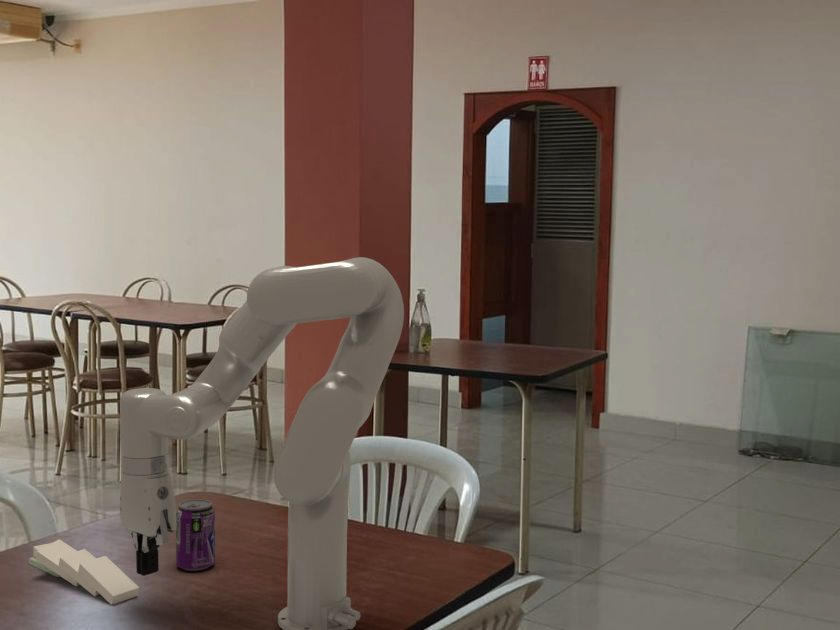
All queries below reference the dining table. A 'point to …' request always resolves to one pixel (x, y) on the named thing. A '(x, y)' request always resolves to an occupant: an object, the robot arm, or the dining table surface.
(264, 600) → the dining table surface
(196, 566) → the beverage can
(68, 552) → the tile
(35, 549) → the tile
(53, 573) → the tile
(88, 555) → the tile
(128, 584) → the tile
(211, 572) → the dining table surface
